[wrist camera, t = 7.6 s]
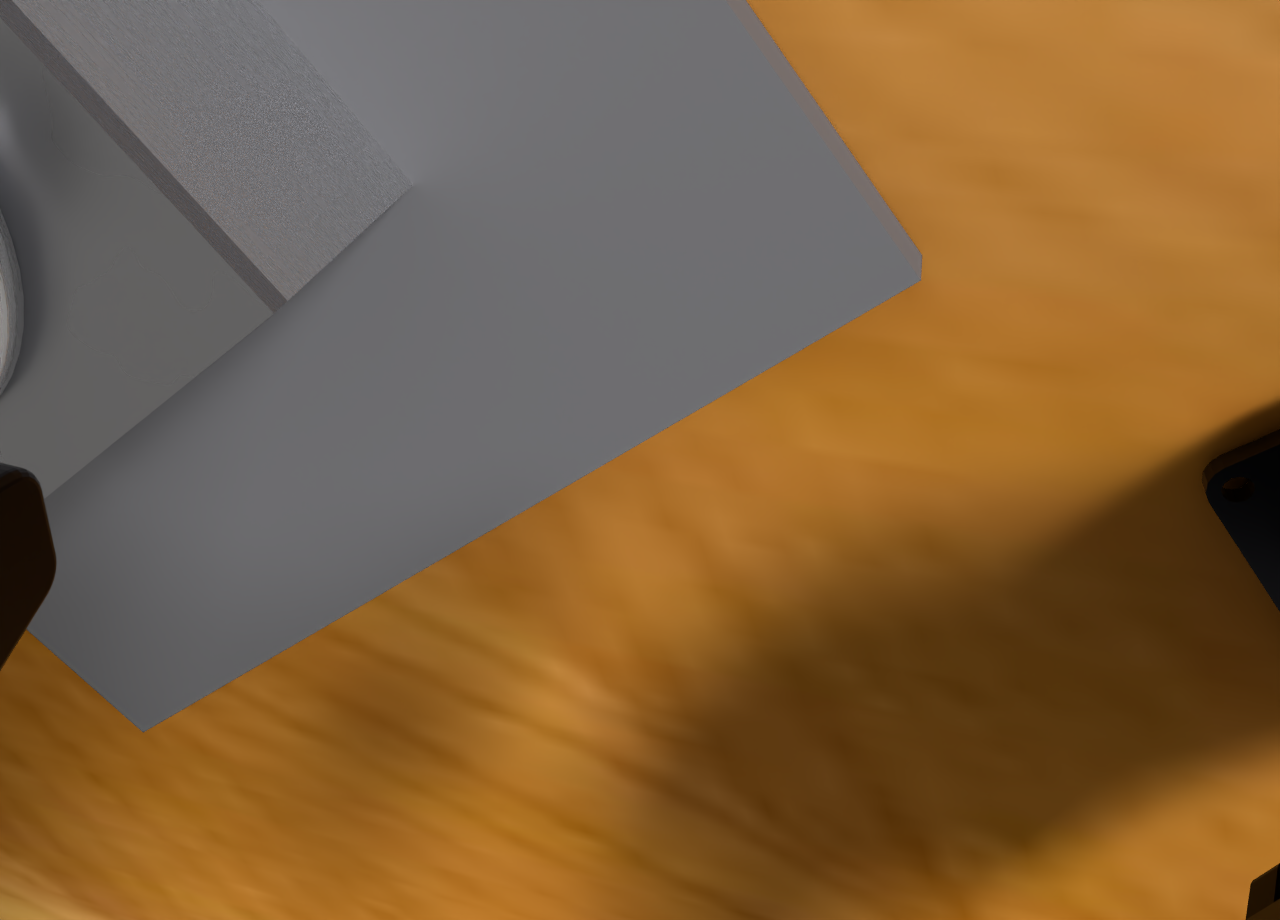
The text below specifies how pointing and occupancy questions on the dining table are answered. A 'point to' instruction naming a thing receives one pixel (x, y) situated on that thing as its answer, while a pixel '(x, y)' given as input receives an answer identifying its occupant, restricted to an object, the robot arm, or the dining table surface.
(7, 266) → the plunger
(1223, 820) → the dining table surface
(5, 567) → the robot arm
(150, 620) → the slate mat
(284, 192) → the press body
